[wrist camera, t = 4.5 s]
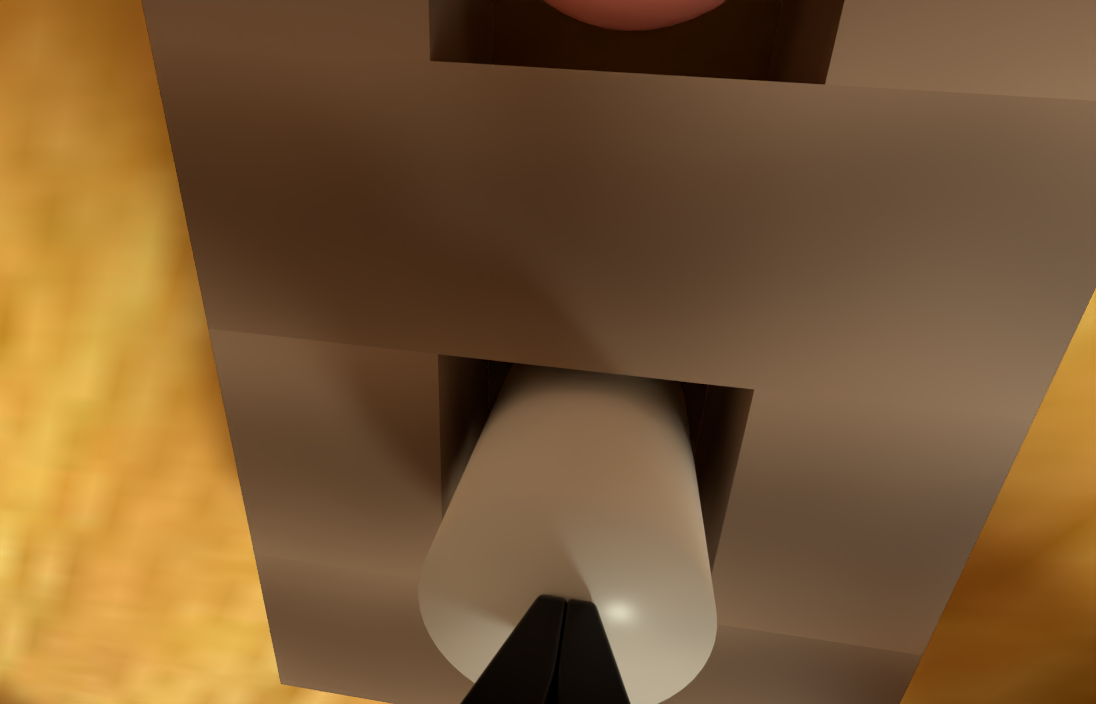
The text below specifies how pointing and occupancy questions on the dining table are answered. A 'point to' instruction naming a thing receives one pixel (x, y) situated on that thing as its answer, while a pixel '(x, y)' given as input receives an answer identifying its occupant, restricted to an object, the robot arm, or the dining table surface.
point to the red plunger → (634, 12)
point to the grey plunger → (578, 526)
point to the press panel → (636, 300)
